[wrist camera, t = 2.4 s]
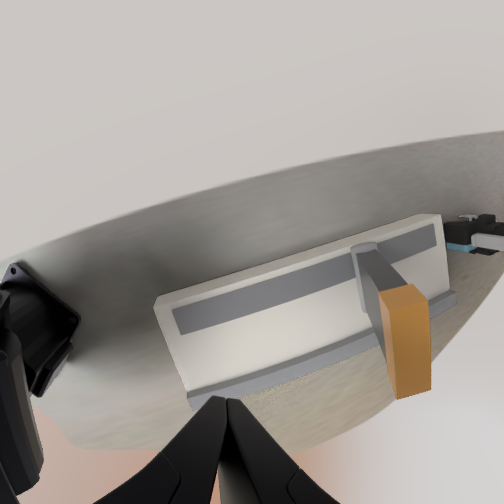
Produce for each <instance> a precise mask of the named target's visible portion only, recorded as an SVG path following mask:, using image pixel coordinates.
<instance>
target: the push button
mask: <svg viewBox="0 0 504 504" xmlns="http://www.w3.org/2000/svg"><path fill="white" fill-rule="evenodd" d="M459 217H460V218H469V220H468V221H465V222H447V223H444V228H445V238H446V247H447V249H453V250H458V251H463V252H469V253H472V254H476V253H479V254H484V255H489V256H490V255H493V254H494V253H496V252H499V251H504V223H501V222H498V220H497V219H496V218H495V215H488V214H483V215H479V218H477V215H470V214H464V215H461V216H459Z"/></svg>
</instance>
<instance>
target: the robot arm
mask: <svg viewBox="0 0 504 504" xmlns="http://www.w3.org/2000/svg"><path fill="white" fill-rule="evenodd" d="M13 268H15V269H16V273H14V271H13ZM71 317H74V318H75V320H76V322H73V321H72V320H71ZM80 322H81V318H80V315H79V314H78V313H77V312H75V311H74V310H73V309H72V308H70V307H69V306H68V305H66V304H65V303H64V302H63V301H61V300H60V299H59V298H58V297H56V296H55V295H54V294H53V293H52V292H50V291H49V290H48V289H47V288H46V287H44V286H43V285H42V284H41V283H40V282H38V281H37V280H36V279H35V278H34V277H33V276H32V275H30V274H29V273H28V272H27V271H26V270H25V269H24V268H23V267H21V266H20V265H19V264H18V263H12V264H10V265H9V267H8V269H7V271H6V273H5V276H4V278H3V280H2V283H0V504H20V503H19V501H18V499H17V497H16V496H17V495H19V494H22V493H23V492H25V491H27V490H29V489H30V488H32V487H33V486H34V485H35V484H36V483H37V482H38V481H39V479H40V477H39V473H40V471H41V468H42V465H43V461H44V458H43V448H42V445H41V442H40V438H39V435H38V431H37V427H36V423H35V419H34V414H33V410H32V406H31V401H30V396H31V395H32V394H34V395H35V396H36V397H42V396H43V394H44V393H45V392H46V390H47V389H48V387H49V386H50V385H51V383H52V382H53V380H54V379H55V378H56V376H57V375H58V374H59V372H60V371H61V369H62V367H63V365H64V363H65V362H66V360H67V358H68V356H69V354H70V352H71V351H72V349H73V344H72V343H71V342H70V340H71V338H72V337H73V335H74V333H75V331H76V329H77V328H78V326H79V324H80ZM217 469H218V478H219V488H220V500H221V504H340V503H339V502H338V501H336V500H335V499H334V498H332V497H331V496H330V495H329V494H328V493H326V492H325V491H324V490H323V489H322V488H320V487H319V486H318V485H317V484H316V483H315V482H314V481H313V480H312V479H311V478H310V477H309V476H308V475H307V474H306V473H305V472H304V471H303V470H302V469H299V466H298V465H297V464H296V463H295V462H294V461H293V460H292V459H291V458H290V456H289V455H288V454H287V453H286V452H285V451H284V450H283V449H282V448H281V447H280V445H279V444H278V443H277V442H276V441H275V440H274V439H273V438H272V436H271V435H270V434H269V433H268V432H267V431H266V430H265V428H264V427H263V426H262V425H261V424H260V423H259V422H258V420H257V419H256V418H255V417H254V416H253V414H252V413H251V412H250V411H249V410H248V408H247V407H246V406H245V405H244V404H243V402H242V401H241V400H239V399H234V398H227V399H226V398H225V397H221V396H215V395H212V396H211V397H210V398H209V399H208V400H207V401H206V403H205V404H204V405H203V406H202V407H201V408H200V409H199V410H198V412H197V413H196V414H195V415H194V416H193V417H192V418H191V419H190V420H189V421H188V423H187V424H186V425H185V426H184V427H183V428H182V429H181V430H180V431H179V432H178V433H177V435H176V436H175V437H174V438H173V439H172V440H171V441H170V442H169V443H168V444H167V445H166V446H165V447H164V448H163V450H162V451H161V452H159V453H158V454H157V456H155V458H153V459H152V461H150V462H149V463H148V464H147V465H146V466H145V467H144V468H143V469H142V470H140V471H139V472H138V473H137V474H135V475H134V476H133V477H132V478H130V479H129V480H128V481H126V482H124V483H123V484H122V485H120V486H119V487H117V488H116V489H114V490H113V491H111V492H110V493H108V494H107V495H105V496H104V497H102V498H101V499H99V500H98V501H96V502H95V503H93V504H210V501H211V496H212V492H213V487H214V483H215V478H216V474H217Z"/></svg>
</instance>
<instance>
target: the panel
mask: <svg viewBox="0 0 504 504" xmlns="http://www.w3.org/2000/svg"><path fill="white" fill-rule="evenodd" d="M364 242H376V244H377V249H378V252H379V253H380V254H381V255H382V256H383V257H384V258H385V259H386V260H387V261H388V262H389V264H390V265H391V266H392V267H393V268H394V269H395V270H396V271H397V272H398V273H399V274H400V276H401V277H402V278H403V279H404V280H405V281H406V282H407V283H408V284H412V283H413V285H414V286H415V287H416V288H417V289H418V290H419V291H420V292H421V293H422V294H423V295H424V296H425V298H426V299H427V300H428V306H429V319H431V318H433V317H434V316H436V315H438V314H440V313H442V312H444V311H445V310H447V309H449V308H451V307H453V306H454V305H456V304H457V293H456V292H455V291H452V290H450V287H449V275H448V264H447V255H446V247H445V239H444V232H443V225H442V219H441V214H423V213H420V214H417V215H414V216H411V217H408V218H405V219H402V220H399V221H396V222H392V223H389V224H386V225H383V226H380V227H377V228H374V229H371V230H368V231H365V232H362V233H359V234H356V235H353V236H350V237H346V238H343V239H340V240H337V241H334V242H331V243H328V244H325V245H322V246H318V247H315V248H312V249H309V250H306V251H303V252H300V253H296V254H293V255H290V256H287V257H284V258H281V259H277V260H274V261H271V262H268V263H265V264H261V265H258V266H255V267H252V268H249V269H245V270H242V271H239V272H236V273H233V274H229V275H226V276H223V277H220V278H216V279H213V280H210V281H207V282H203V283H200V284H197V285H193V286H190V287H187V288H184V289H180V290H177V291H174V292H170V293H167V294H164V295H160V296H157V299H156V301H155V304H154V307H153V309H154V312H155V315H156V317H157V320H158V323H159V325H160V328H161V330H162V333H163V336H164V338H165V341H166V343H167V346H168V348H169V351H170V353H171V355H172V358H173V360H174V363H175V365H176V367H177V370H178V372H179V374H180V377H181V379H182V381H183V384H184V386H185V388H186V390H187V399H188V402H189V404H190V406H191V408H192V410H193V411H194V410H198V409H200V408H201V407H202V406H203V405H204V404H205V403H206V401H207V400H208V399H209V398H210V397H211V396H212V395H215V396H221V397H225V398H226V399H227V398H234V399H237V398H240V397H243V396H247V395H250V394H253V393H256V392H259V391H262V390H265V389H268V388H271V387H274V386H277V385H280V384H283V383H285V382H288V381H291V380H294V379H296V378H299V377H302V376H305V375H307V374H310V373H312V372H315V371H318V370H320V369H323V368H325V367H328V366H330V365H333V364H335V363H337V362H340V361H342V360H345V359H347V358H349V357H352V356H354V355H356V354H359V353H361V352H363V351H365V350H368V349H370V348H372V347H374V346H376V345H379V341H378V339H377V336H376V334H375V331H374V329H373V326H372V324H371V321H370V319H369V316H368V314H367V313H364V312H363V311H362V308H361V302H360V296H359V291H358V285H357V280H356V275H355V269H354V264H353V259H352V255H351V250H350V248H351V247H352V246H354V245H356V244H359V243H364Z"/></svg>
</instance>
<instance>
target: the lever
mask: <svg viewBox="0 0 504 504" xmlns="http://www.w3.org/2000/svg"><path fill="white" fill-rule="evenodd" d="M350 250H351V255H352V259H353V264H354V269H355V275H356V280H357V285H358V291H359V296H360V302H361V308H362V311H363V312H364V313H367V314H368V316H369V319H370V321H371V324H372V326H373V329H374V331H375V334H376V336H377V339H378V341H379V344H380V346H381V349H382V352H383V354H384V357H385V359H386V362H387V368H388V376H389V378H390V381H391V384H392V387H393V390H394V393H395V396H396V399H397V400H398V399H401V398H405V397H409V396H412V395H415V394H419V393H422V392H426V391H429V390H431V340H430V320H429V306H428V300H427V299H426V298H425V296H424V295H423V294H422V293H421V292H420V291H419V290H418V289H417V288H416V287H415V286H414V285H413V283H412V284H408V283H407V282H406V281H405V280H404V279H403V278H402V277H401V276H400V274H399V273H398V272H397V271H396V270H395V269H394V268H393V267H392V266H391V265H390V264H389V262H388V261H387V260H386V259H385V258H384V257H383V256H382V255H381V254H380V253H379V252H378V249H377V244H376V242H364V243H359V244H356V245H354V246H352V247H351V248H350Z"/></svg>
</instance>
